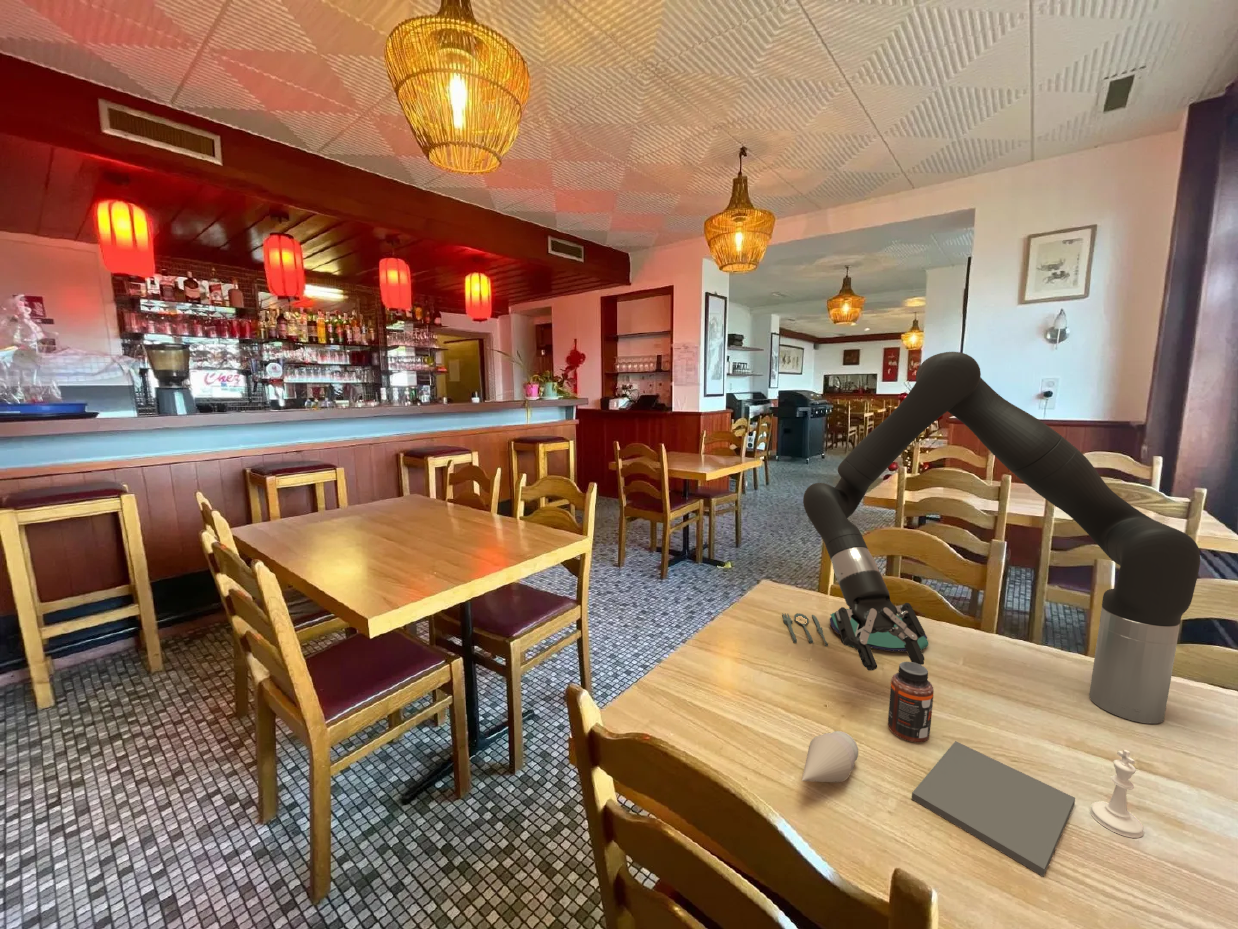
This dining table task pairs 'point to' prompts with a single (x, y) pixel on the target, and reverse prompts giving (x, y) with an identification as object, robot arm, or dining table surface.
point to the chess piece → (1119, 801)
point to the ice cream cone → (830, 757)
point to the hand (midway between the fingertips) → (896, 667)
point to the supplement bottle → (911, 703)
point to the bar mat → (997, 805)
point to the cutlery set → (874, 640)
